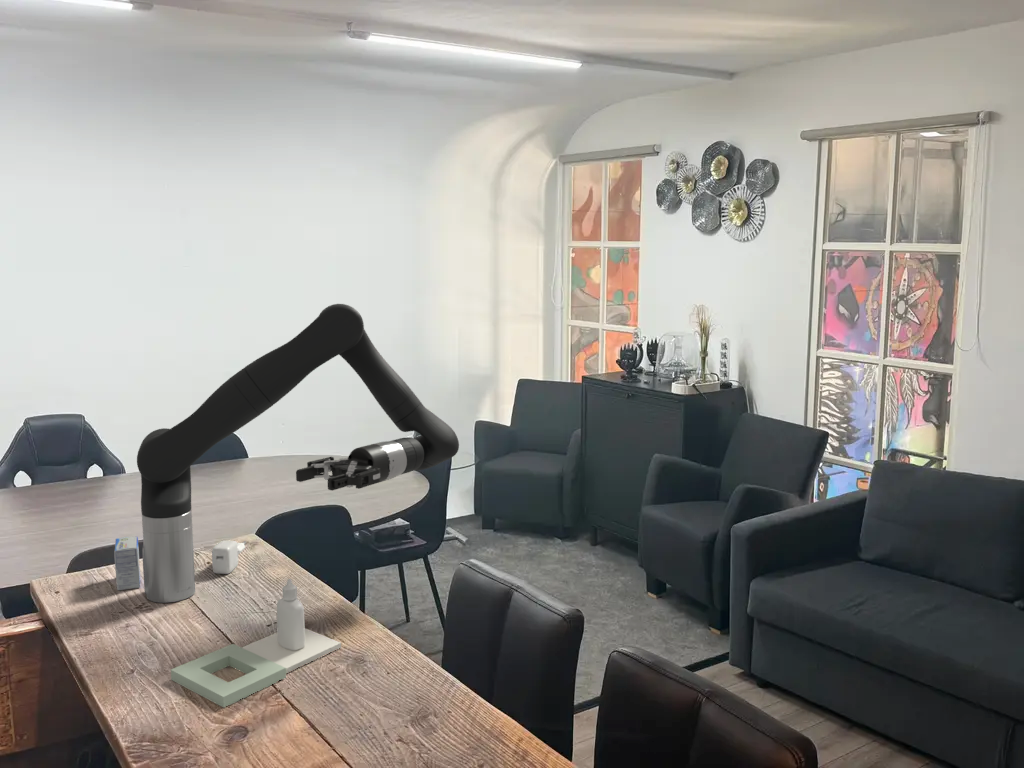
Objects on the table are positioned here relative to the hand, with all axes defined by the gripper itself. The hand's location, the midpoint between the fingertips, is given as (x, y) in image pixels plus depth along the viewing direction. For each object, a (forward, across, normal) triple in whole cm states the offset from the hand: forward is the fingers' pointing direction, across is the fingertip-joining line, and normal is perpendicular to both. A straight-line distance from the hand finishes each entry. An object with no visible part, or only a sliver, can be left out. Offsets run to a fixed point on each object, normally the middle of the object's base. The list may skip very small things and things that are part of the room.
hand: (313, 480), depth 166 cm
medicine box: (+10, -46, +28) cm, 55 cm away
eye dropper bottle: (+9, +4, +27) cm, 29 cm away
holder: (+22, +4, +28) cm, 36 cm away
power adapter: (-9, -38, +28) cm, 48 cm away
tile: (+9, +4, +28) cm, 30 cm away
